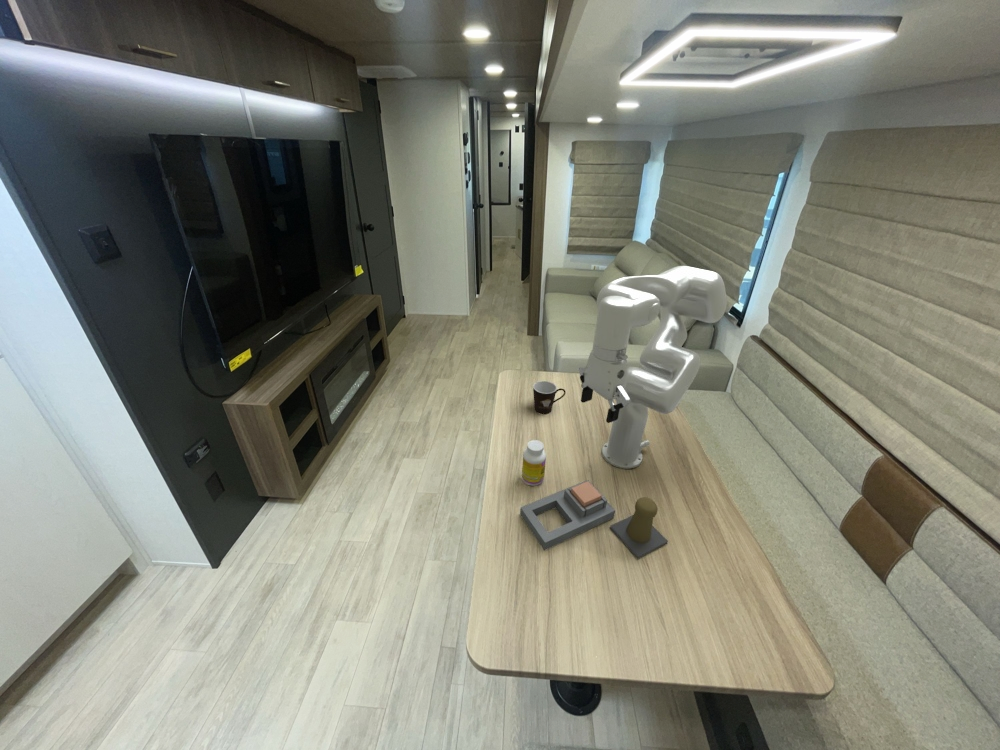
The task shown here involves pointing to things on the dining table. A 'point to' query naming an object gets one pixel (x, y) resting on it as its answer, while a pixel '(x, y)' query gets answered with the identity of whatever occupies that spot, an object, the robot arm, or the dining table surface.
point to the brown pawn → (642, 520)
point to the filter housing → (565, 516)
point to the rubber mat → (635, 547)
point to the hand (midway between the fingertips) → (598, 410)
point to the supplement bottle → (533, 463)
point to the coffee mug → (545, 396)
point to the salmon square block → (586, 494)
